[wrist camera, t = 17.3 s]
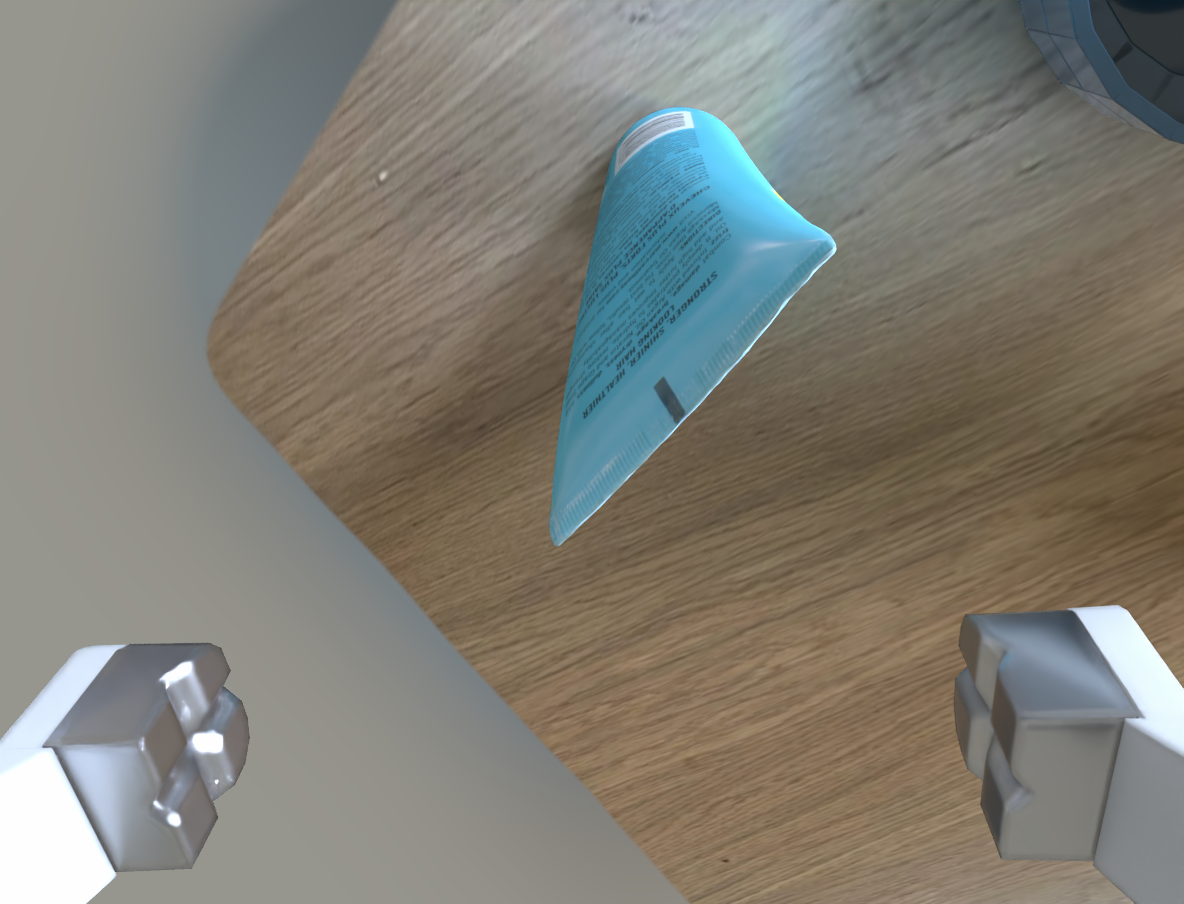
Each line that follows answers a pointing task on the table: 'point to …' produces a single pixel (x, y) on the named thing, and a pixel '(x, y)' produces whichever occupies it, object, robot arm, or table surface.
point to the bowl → (1117, 57)
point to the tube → (669, 297)
